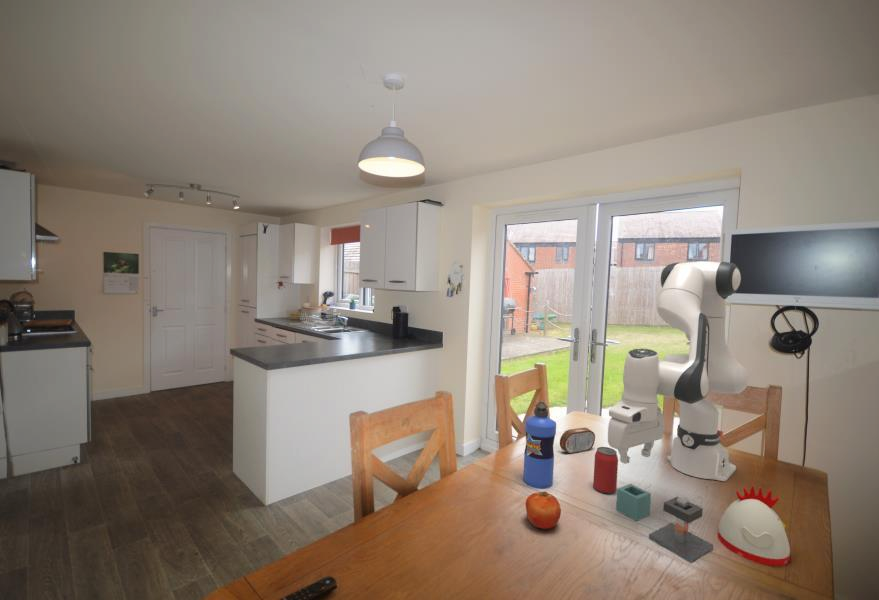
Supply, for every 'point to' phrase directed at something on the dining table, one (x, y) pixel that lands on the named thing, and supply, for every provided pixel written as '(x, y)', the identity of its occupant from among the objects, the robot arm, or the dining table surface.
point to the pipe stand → (681, 537)
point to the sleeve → (633, 501)
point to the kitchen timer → (755, 529)
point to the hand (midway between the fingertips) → (635, 459)
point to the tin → (577, 440)
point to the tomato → (543, 510)
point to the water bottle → (539, 448)
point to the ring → (682, 510)
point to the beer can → (605, 470)
